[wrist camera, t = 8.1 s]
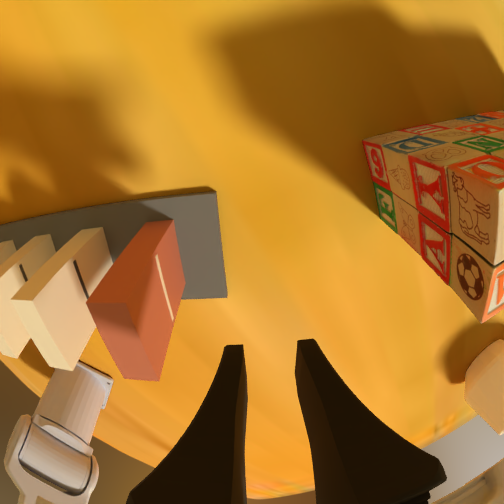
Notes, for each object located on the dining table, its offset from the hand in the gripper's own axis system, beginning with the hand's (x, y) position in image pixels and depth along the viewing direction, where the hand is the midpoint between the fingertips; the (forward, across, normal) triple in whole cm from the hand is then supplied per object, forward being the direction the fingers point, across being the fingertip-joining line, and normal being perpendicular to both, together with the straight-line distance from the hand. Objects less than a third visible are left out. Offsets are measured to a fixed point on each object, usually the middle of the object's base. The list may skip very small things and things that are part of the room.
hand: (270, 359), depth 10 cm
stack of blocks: (+11, -18, -8) cm, 23 cm away
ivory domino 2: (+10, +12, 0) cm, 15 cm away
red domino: (+10, +6, 0) cm, 12 cm away
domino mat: (+10, +16, 0) cm, 20 cm away
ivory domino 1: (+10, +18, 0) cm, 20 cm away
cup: (+11, -38, +24) cm, 46 cm away
